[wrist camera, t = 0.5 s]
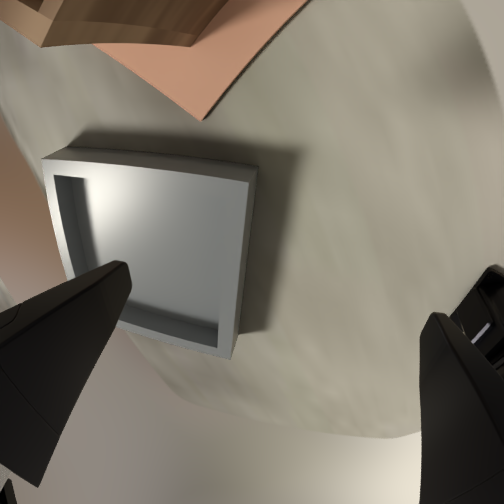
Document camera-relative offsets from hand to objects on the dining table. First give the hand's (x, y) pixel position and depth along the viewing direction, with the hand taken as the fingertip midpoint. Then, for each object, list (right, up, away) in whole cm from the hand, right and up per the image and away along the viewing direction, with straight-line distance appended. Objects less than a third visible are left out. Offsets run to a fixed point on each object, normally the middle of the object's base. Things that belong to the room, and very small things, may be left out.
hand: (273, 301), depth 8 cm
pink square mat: (-5, +17, +6) cm, 18 cm away
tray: (-9, +2, +17) cm, 19 cm away
